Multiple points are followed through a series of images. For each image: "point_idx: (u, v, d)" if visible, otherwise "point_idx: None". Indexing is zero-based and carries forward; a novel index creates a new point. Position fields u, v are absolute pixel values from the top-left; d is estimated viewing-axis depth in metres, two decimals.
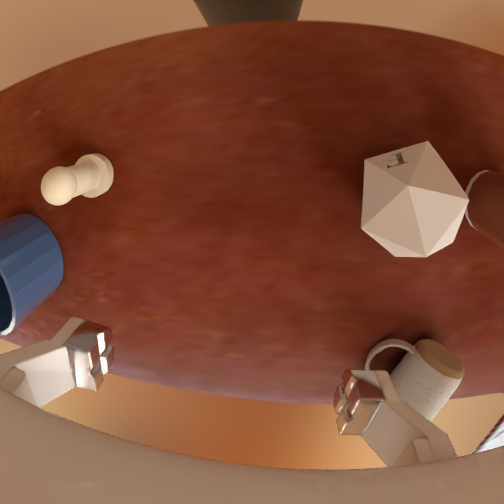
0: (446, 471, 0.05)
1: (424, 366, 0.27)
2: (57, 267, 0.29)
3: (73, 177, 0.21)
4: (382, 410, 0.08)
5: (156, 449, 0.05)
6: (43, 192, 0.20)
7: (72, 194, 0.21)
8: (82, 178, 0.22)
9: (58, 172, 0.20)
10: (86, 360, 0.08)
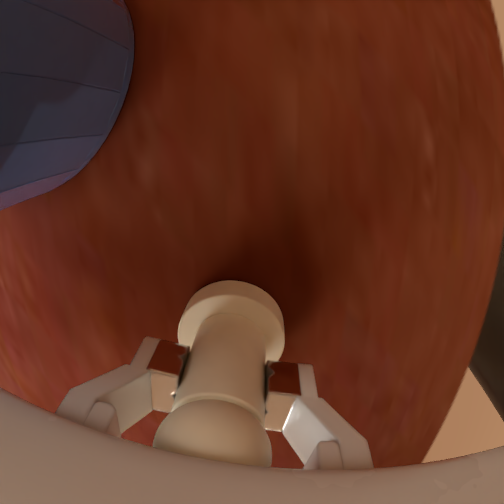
0: (446, 471, 0.05)
1: None
2: None
3: None
4: (297, 406, 0.08)
5: (156, 449, 0.05)
6: None
7: None
8: None
9: None
10: (172, 384, 0.08)
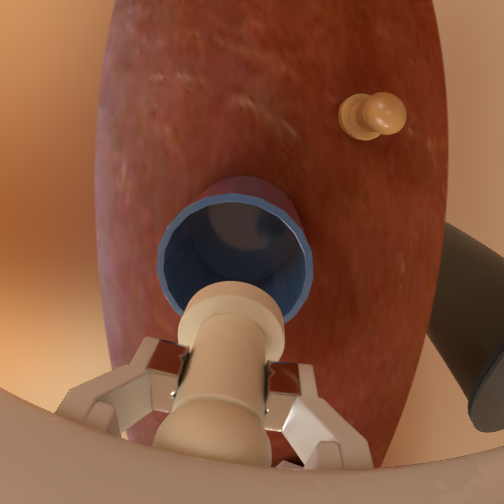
0: (446, 471, 0.05)
1: None
2: None
3: None
4: (297, 406, 0.08)
5: (156, 449, 0.05)
6: None
7: None
8: None
9: None
10: (172, 384, 0.08)
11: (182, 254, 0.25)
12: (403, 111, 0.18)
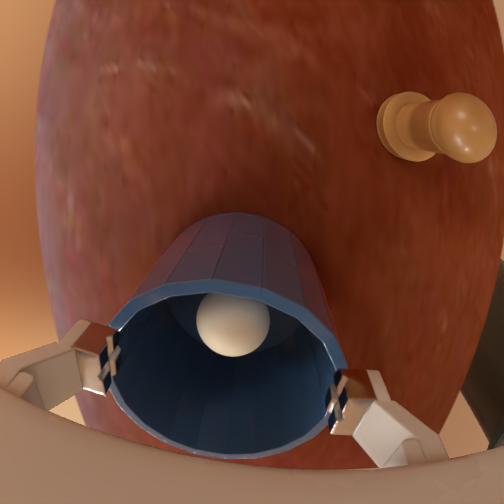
0: (446, 471, 0.05)
1: None
2: None
3: None
4: (373, 410, 0.08)
5: (156, 449, 0.05)
6: (223, 326, 0.12)
7: None
8: None
9: (259, 343, 0.13)
10: (95, 363, 0.08)
11: (148, 335, 0.16)
12: (495, 128, 0.09)
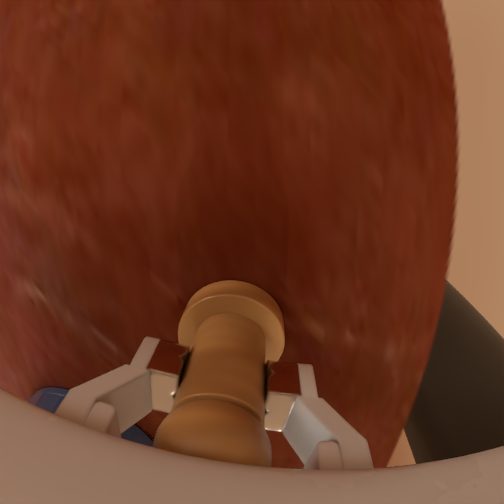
0: (446, 471, 0.05)
1: None
2: None
3: None
4: (297, 406, 0.08)
5: (156, 449, 0.05)
6: None
7: None
8: None
9: None
10: (172, 383, 0.08)
11: None
12: None
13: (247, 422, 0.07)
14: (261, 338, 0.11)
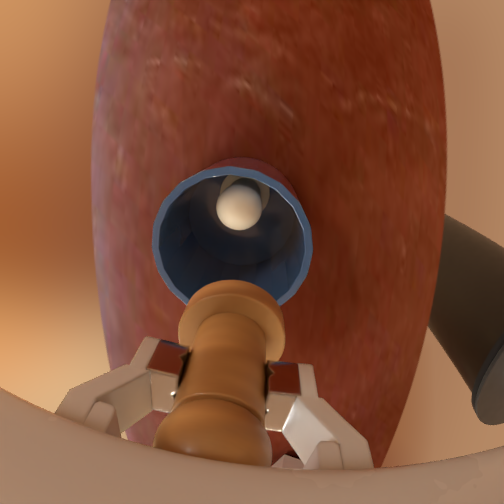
0: (446, 471, 0.05)
1: None
2: None
3: None
4: (297, 406, 0.08)
5: (156, 449, 0.05)
6: (234, 202, 0.20)
7: None
8: None
9: (255, 219, 0.20)
10: (172, 383, 0.08)
11: (178, 235, 0.24)
12: None
13: (247, 422, 0.07)
14: (261, 338, 0.11)
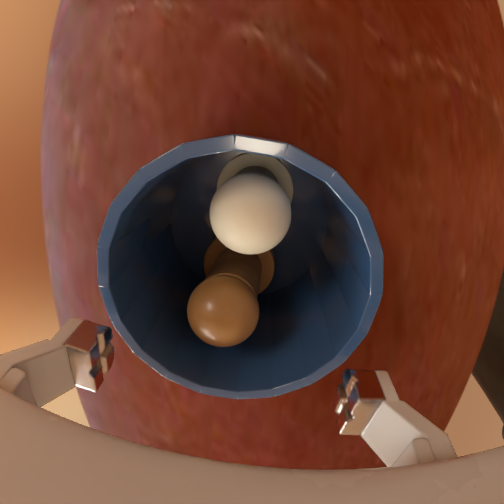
0: (446, 471, 0.05)
1: None
2: None
3: None
4: (382, 410, 0.08)
5: (156, 449, 0.05)
6: (242, 205, 0.10)
7: None
8: None
9: (280, 236, 0.11)
10: (86, 360, 0.08)
11: (151, 257, 0.15)
12: (240, 323, 0.12)
13: (244, 284, 0.13)
14: (258, 260, 0.17)
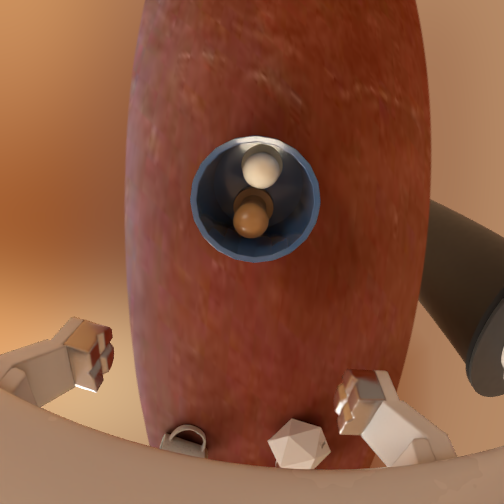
0: (446, 471, 0.05)
1: None
2: None
3: None
4: (382, 410, 0.08)
5: (156, 449, 0.05)
6: (258, 164, 0.24)
7: (251, 185, 0.26)
8: None
9: (274, 179, 0.25)
10: (86, 360, 0.08)
11: (207, 197, 0.29)
12: (261, 222, 0.26)
13: (261, 206, 0.27)
14: (264, 203, 0.31)
